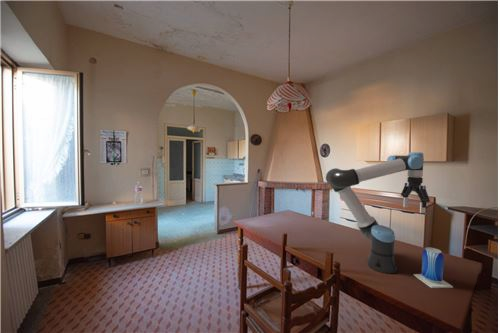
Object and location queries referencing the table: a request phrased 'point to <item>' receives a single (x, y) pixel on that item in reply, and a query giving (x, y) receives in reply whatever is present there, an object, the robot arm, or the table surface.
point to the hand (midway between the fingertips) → (413, 209)
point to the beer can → (432, 265)
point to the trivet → (433, 285)
